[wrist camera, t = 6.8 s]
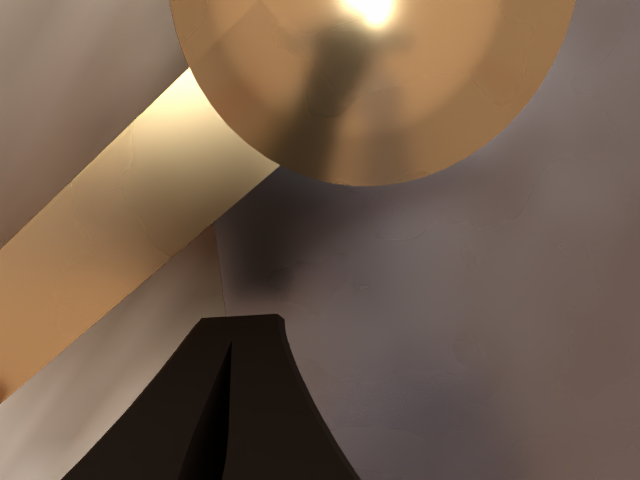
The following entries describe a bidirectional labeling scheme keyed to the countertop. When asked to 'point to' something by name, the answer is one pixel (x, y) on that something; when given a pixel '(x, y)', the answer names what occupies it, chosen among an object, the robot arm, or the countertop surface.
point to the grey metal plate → (473, 286)
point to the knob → (268, 137)
